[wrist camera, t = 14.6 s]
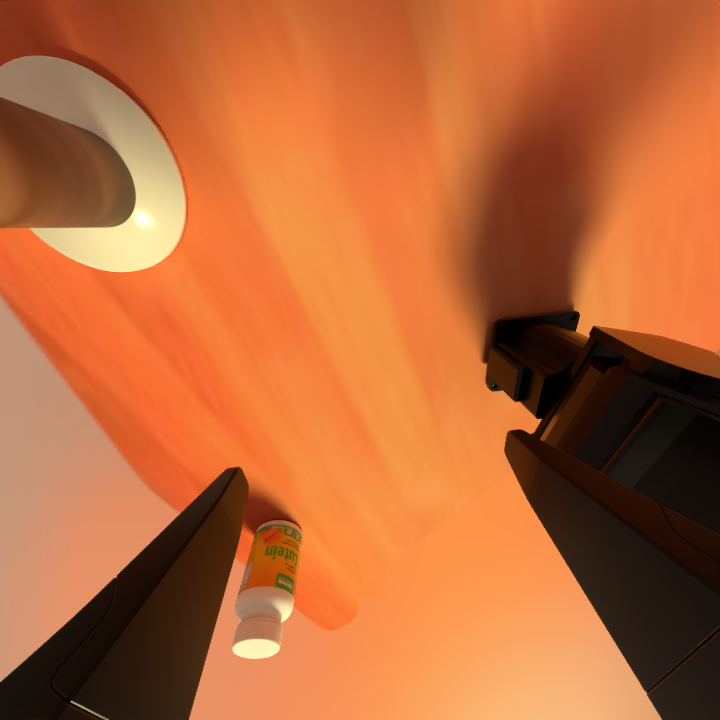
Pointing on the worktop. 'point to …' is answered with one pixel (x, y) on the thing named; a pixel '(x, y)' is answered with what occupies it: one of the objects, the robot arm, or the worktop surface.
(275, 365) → the worktop surface
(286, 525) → the supplement bottle
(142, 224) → the cream disc
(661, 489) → the robot arm
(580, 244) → the worktop surface
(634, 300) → the worktop surface
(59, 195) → the walnut peg
